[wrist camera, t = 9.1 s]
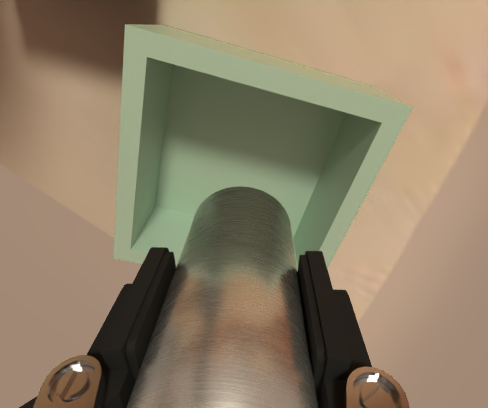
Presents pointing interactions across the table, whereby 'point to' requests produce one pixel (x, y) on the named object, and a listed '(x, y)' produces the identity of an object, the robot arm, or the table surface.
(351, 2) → the table surface
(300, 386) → the strut
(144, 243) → the bin
